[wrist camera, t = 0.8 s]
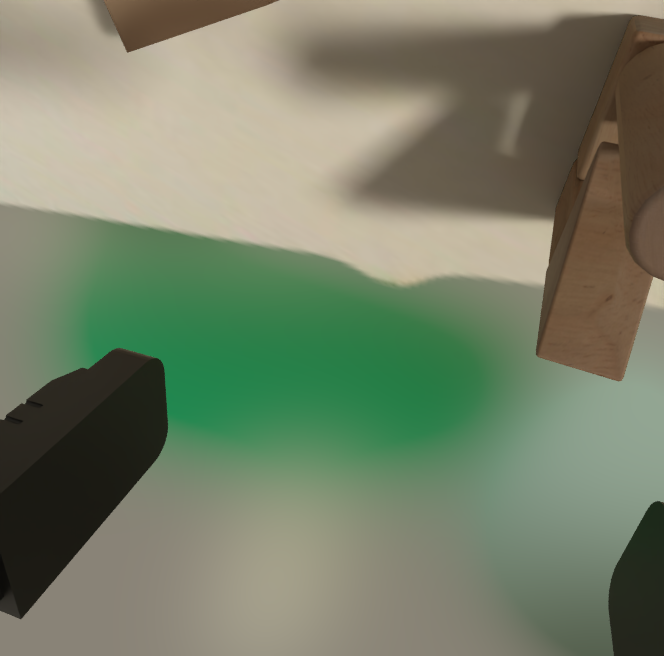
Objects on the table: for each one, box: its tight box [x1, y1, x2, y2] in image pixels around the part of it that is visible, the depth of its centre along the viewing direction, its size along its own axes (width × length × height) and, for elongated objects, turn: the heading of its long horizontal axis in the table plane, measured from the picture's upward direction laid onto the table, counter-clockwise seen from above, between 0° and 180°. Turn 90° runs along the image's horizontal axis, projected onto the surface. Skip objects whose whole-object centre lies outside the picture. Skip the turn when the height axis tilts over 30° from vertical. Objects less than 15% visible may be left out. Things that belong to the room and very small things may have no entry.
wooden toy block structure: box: [536, 15, 664, 381], centre depth 24 cm, size 4×11×18 cm, turn 175°
